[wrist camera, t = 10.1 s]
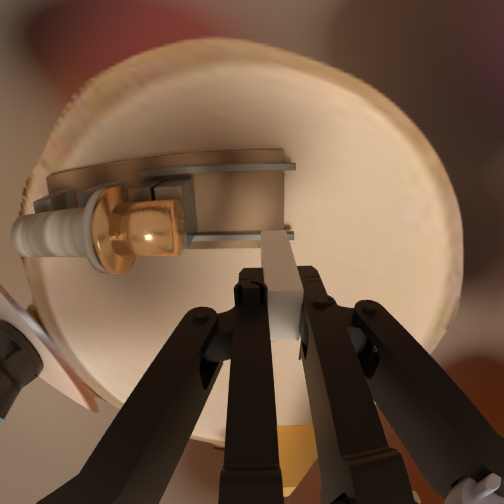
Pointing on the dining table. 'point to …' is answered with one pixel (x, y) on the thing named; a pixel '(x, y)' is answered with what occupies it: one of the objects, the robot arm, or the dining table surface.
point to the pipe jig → (167, 166)
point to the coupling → (143, 222)
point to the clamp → (295, 454)
